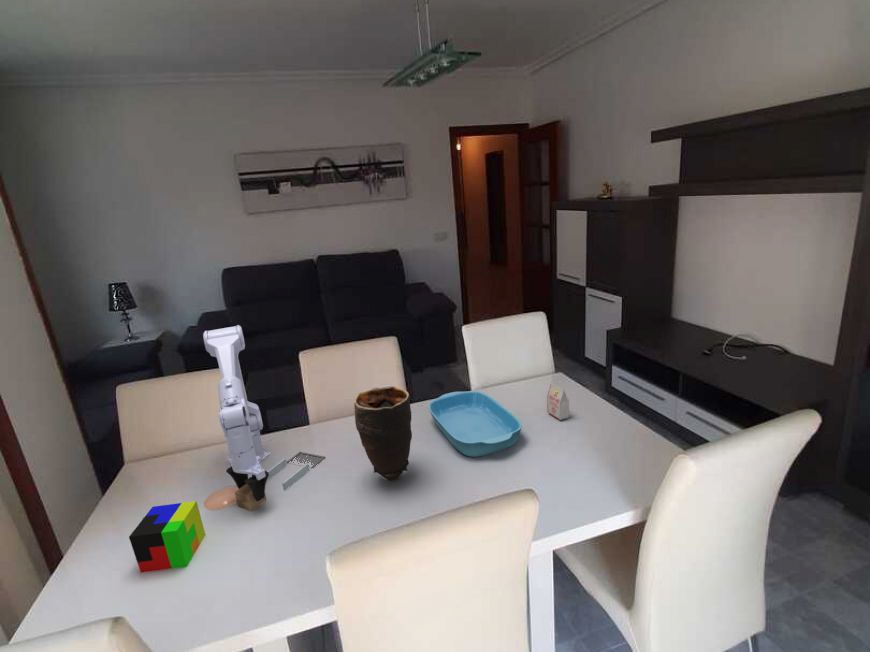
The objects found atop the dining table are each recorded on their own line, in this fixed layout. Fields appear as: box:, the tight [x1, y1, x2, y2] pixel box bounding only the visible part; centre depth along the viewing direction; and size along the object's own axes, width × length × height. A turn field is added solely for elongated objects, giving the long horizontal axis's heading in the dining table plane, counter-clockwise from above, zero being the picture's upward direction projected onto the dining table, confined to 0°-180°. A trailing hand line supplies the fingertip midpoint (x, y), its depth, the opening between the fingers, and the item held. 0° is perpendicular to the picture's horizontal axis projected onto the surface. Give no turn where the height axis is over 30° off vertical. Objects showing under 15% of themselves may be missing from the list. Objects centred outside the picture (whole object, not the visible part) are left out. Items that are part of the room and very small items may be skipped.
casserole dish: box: [427, 390, 523, 458], centre depth 146 cm, size 37×22×7 cm, turn 21°
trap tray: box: [286, 451, 326, 469], centre depth 139 cm, size 10×6×1 cm, turn 65°
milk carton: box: [546, 383, 570, 421], centre depth 152 cm, size 4×7×10 cm, turn 23°
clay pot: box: [353, 384, 413, 482], centre depth 123 cm, size 15×15×25 cm
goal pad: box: [203, 486, 239, 511], centre depth 124 cm, size 10×10×1 cm
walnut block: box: [235, 484, 267, 512], centre depth 120 cm, size 5×5×5 cm
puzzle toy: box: [128, 500, 206, 573], centre depth 104 cm, size 10×10×10 cm
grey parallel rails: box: [266, 458, 310, 491], centre depth 131 cm, size 9×10×2 cm
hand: (252, 494), depth 120 cm, fingers open, 7 cm apart
